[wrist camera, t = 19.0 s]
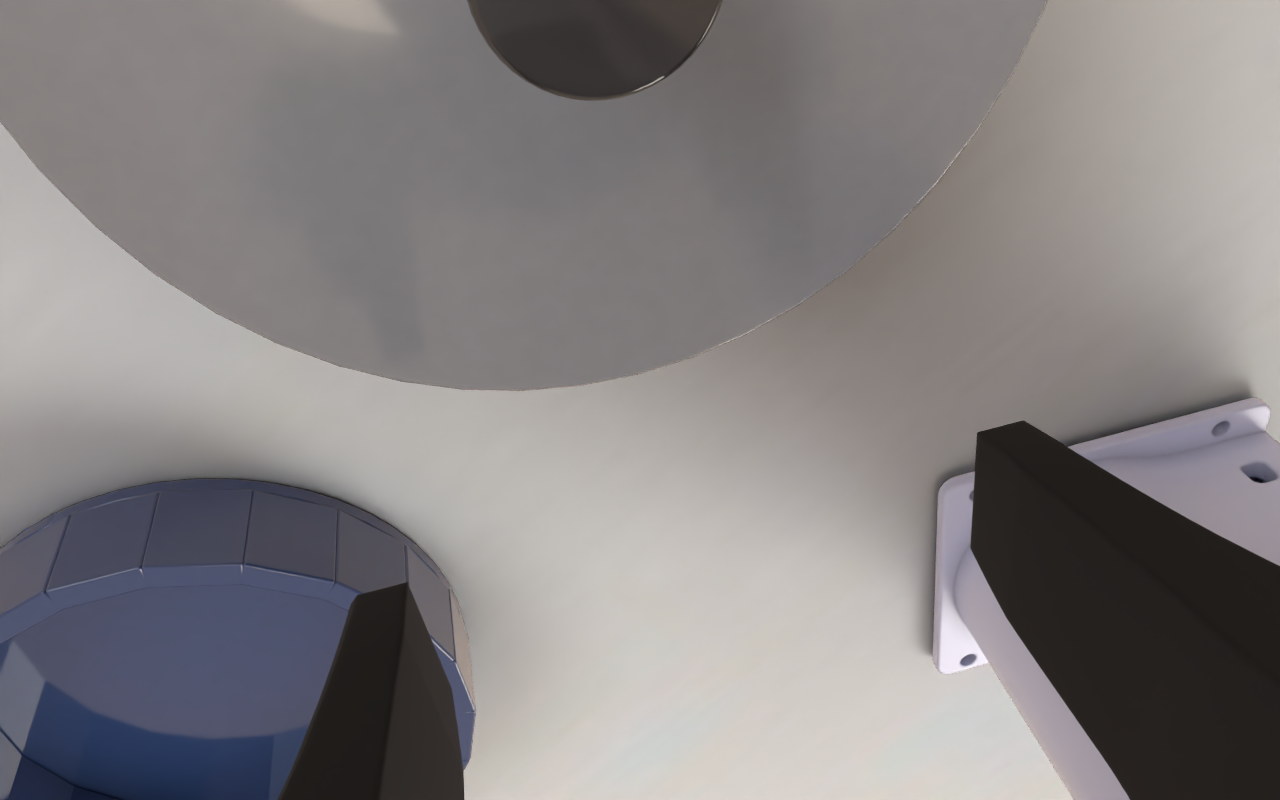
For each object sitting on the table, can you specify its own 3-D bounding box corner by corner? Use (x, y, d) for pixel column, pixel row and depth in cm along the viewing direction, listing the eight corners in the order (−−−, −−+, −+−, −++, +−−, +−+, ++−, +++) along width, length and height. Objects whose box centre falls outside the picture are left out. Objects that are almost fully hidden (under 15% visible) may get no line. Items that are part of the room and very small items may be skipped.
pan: (389, 421, 23) (392, 502, 21) (510, 738, 30) (521, 823, 28) (-164, 559, 22) (-223, 660, 20) (96, 853, 29) (74, 950, 27)
